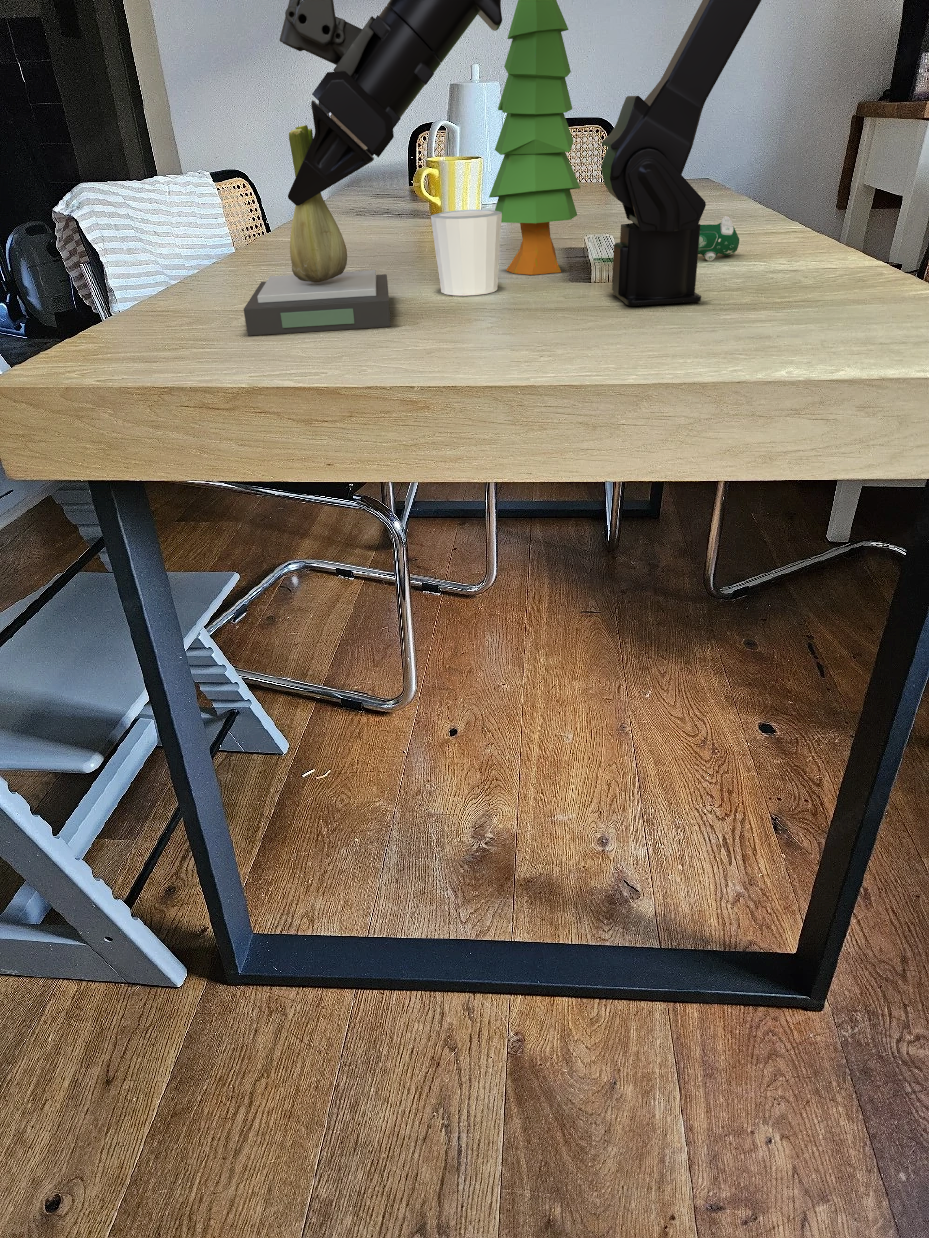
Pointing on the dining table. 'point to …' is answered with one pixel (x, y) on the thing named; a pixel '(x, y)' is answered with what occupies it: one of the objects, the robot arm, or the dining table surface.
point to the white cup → (467, 250)
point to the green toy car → (718, 239)
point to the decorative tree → (535, 135)
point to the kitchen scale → (319, 304)
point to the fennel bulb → (313, 227)
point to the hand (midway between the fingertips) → (295, 198)
